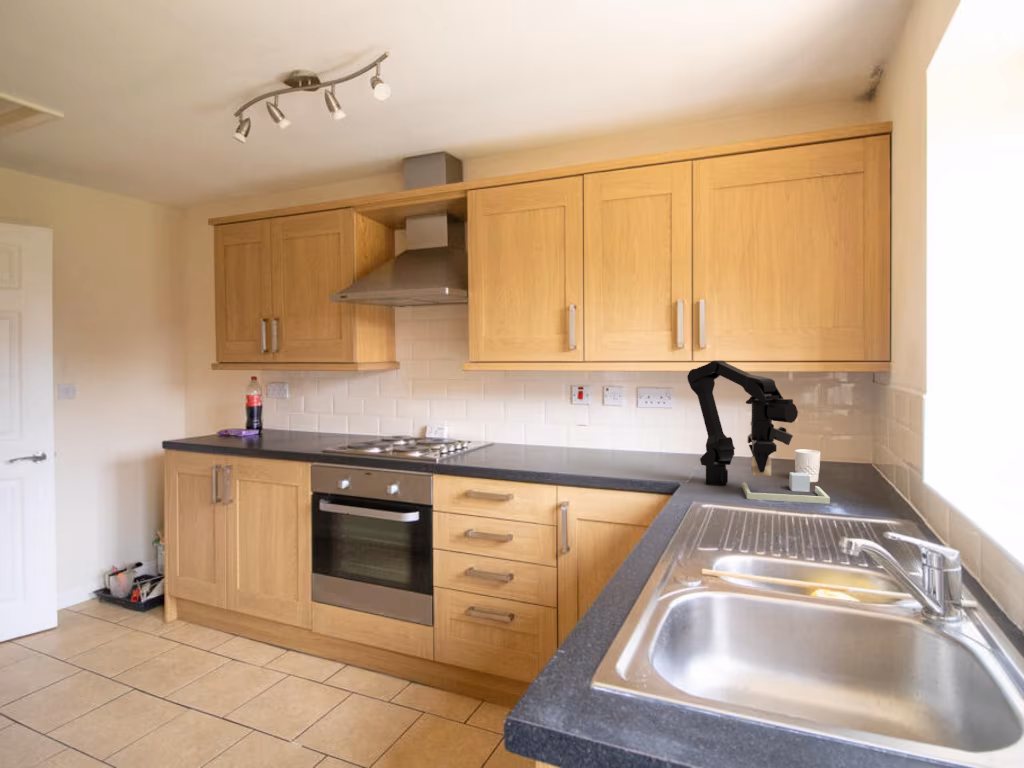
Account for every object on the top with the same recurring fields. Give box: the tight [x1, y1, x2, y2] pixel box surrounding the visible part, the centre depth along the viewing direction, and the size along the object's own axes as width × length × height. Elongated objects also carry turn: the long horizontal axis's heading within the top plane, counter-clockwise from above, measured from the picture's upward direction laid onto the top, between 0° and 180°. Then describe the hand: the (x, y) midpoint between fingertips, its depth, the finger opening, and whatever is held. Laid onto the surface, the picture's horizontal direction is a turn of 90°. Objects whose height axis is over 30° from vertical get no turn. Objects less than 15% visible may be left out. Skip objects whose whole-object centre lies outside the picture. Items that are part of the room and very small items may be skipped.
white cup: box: [794, 448, 822, 483], centre depth 197 cm, size 8×8×10 cm
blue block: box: [788, 471, 811, 493], centre depth 184 cm, size 5×5×5 cm
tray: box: [742, 482, 831, 505], centre depth 176 cm, size 22×15×2 cm
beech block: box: [750, 455, 772, 477], centre depth 177 cm, size 5×5×5 cm
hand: (760, 470), depth 177 cm, fingers closed on beech block, 5 cm apart
